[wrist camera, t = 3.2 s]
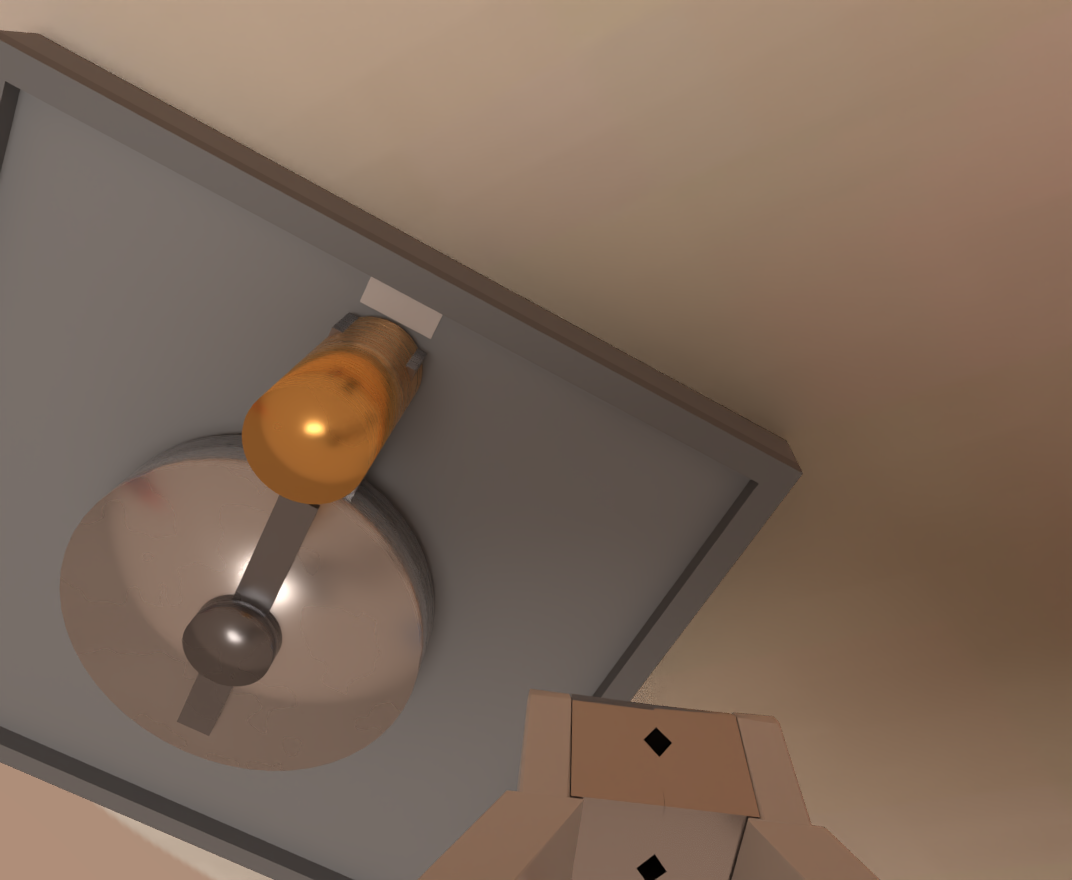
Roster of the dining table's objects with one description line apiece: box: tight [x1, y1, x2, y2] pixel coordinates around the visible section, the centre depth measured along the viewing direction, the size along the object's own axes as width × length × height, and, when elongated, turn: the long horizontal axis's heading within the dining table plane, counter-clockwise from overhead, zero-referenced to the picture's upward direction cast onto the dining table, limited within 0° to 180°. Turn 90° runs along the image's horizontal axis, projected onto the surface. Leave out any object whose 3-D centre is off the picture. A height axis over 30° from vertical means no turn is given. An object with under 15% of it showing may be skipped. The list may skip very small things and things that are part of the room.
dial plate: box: [0, 30, 803, 880], centre depth 25 cm, size 22×22×2 cm
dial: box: [59, 312, 434, 771], centre depth 21 cm, size 14×10×5 cm
